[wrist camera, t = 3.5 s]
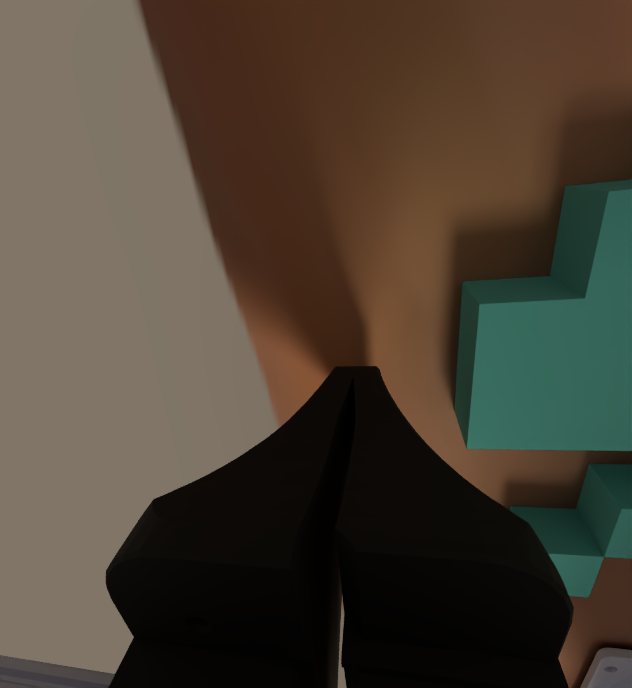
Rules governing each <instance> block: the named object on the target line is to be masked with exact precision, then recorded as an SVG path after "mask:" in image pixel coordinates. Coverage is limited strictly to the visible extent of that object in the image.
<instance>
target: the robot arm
mask: <svg viewBox="0 0 632 688" xmlns="http://www.w3.org/2000/svg"><path fill="white" fill-rule="evenodd" d="M106 586H107V589H108V592H109V594H110V597H111V599H112V601H113V603H114V604H115V606H116V608H117V609H118V611H119V613H120V614H121V616H122V618H123V619H124V621H125V623H126V624H127V626H128V628H129V629H130V631H131V633H132V635H133V636H134V638H133V640H132V642H131V644H130V646H129V648H128V650H127V652H126V654H125V656H124V658H123V660H122V662H121V664H120V666H119V668H118V670H117V672H116V673H115V674H111V673H104V672H99V671H93V670H87V669H80V668H74V667H68V666H62V665H56V664H50V663H44V662H37V661H32V660H25V659H19V658H13V657H7V656H1V655H0V688H337V686H338V662H339V641H340V621H341V620H340V619H341V601H342V596H343V605H344V614H345V615H344V629H343V644H342V659H341V661H342V662H341V664H342V667H343V668H344V671H345V679H346V686H347V688H569V687H568V684H567V681H566V679H565V676H564V673H563V670H562V668H561V665H560V662H559V660H558V657H559V655H560V652H561V649H562V647H563V644H564V642H565V639H566V636H567V634H568V631H569V629H570V626H571V623H572V617H573V609H574V608H573V605H572V603H571V600H570V597H569V595H568V592H567V589H566V587H565V585H564V582H563V580H562V578H561V576H560V574H559V572H558V570H557V568H556V566H555V564H554V563H553V561H552V559H551V558H550V556H549V554H548V553H547V551H546V549H545V547H544V546H543V544H542V543H541V541H540V539H539V538H538V536H537V535H536V533H535V531H534V530H533V528H532V527H531V525H530V524H529V523H528V522H527V521H525V520H524V519H522V518H520V517H519V516H517V515H516V514H514V513H513V512H511V511H510V510H508V509H507V508H505V507H504V506H502V505H501V504H499V503H498V502H496V501H494V500H493V499H491V498H490V497H488V496H487V495H485V494H484V493H483V492H481V491H480V490H479V489H477V488H476V487H475V486H473V485H472V484H471V483H469V482H468V481H467V480H465V479H464V478H463V477H462V476H461V475H460V474H458V473H457V472H456V471H455V470H454V469H453V468H452V467H450V466H449V465H448V464H447V463H446V462H445V461H444V460H442V459H441V458H440V457H439V456H438V455H437V454H436V453H435V452H434V451H433V450H432V449H431V448H430V447H429V446H428V445H427V443H426V442H425V441H424V440H423V439H422V438H421V437H420V436H419V435H418V433H417V432H416V431H415V430H414V429H413V427H412V426H411V425H410V423H409V422H408V421H407V419H406V418H405V417H404V415H403V414H402V412H401V411H400V409H399V408H398V407H397V405H396V403H395V402H394V400H393V398H392V397H391V395H390V393H389V391H388V390H387V388H386V385H385V383H384V381H383V379H382V376H381V373H380V369H379V368H378V367H377V366H348V367H335V368H334V369H333V370H332V371H331V373H330V374H329V375H328V377H327V378H326V379H325V381H324V382H323V383H322V384H321V386H320V387H319V388H318V389H317V390H316V392H315V393H314V394H313V395H312V396H311V397H310V398H309V400H308V401H307V402H306V403H305V404H304V405H303V406H302V407H301V408H300V409H299V410H298V411H297V412H296V413H295V414H294V415H293V416H292V417H291V418H290V419H289V420H288V421H287V422H286V423H285V424H284V425H282V426H281V427H280V428H279V429H278V430H276V431H275V432H274V433H273V434H271V435H270V436H269V437H268V438H266V439H265V440H263V441H262V442H261V443H259V444H258V445H256V446H255V447H253V448H252V449H250V450H249V451H248V452H246V453H244V454H243V455H241V456H240V457H238V458H237V459H235V460H233V461H231V462H230V463H228V464H226V465H225V466H223V467H221V468H219V469H217V470H215V471H214V472H212V473H210V474H208V475H206V476H204V477H202V478H200V479H198V480H196V481H194V482H192V483H189V484H188V485H185V486H183V487H181V488H178V489H176V490H174V491H172V492H170V493H168V494H165V495H163V496H160V497H158V498H156V499H154V500H153V501H152V502H151V504H150V505H149V506H148V508H147V509H146V511H145V512H144V513H143V515H142V516H141V518H140V519H139V520H138V522H137V524H136V525H135V527H134V528H133V530H132V531H131V533H130V534H129V536H128V537H127V539H126V540H125V542H124V544H123V545H122V546H121V548H120V549H119V551H118V553H117V554H116V555H115V557H114V559H113V560H112V562H111V563H110V565H109V567H108V569H107V570H106ZM580 688H632V650H627V649H618V648H602V649H600V650H598V652H597V653H596V655H595V658H594V660H593V662H592V664H591V666H590V668H589V670H588V672H587V674H586V677H585V679H584V681H583V683H582V685H581V687H580Z"/></svg>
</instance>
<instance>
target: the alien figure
mask: <svg viewBox="0 0 632 688" xmlns="http://www.w3.org/2000/svg"><path fill="white" fill-rule="evenodd" d="M454 411H455V414H456V417H457V420H458V423H459V426H460V429H461V432H462V436H463V439H464V442H465V445H466V448H467V449H512V450H588V451H632V179H629V180H620V181H610V182H601V183H592V184H582V185H573V186H565V190H564V196H563V202H562V208H561V214H560V219H559V225H558V231H557V237H556V243H555V249H554V254H553V260H552V266H551V272H550V276H539V277H523V278H508V279H493V280H477V281H463V283H462V298H461V314H460V329H459V345H458V360H457V376H456V391H455V407H454ZM510 511H511V512H513V513H514V514H516V515H517V516H519V517H520V518H522V519H524V520H525V521H527V522H528V523H529V524H530V525H531V527H532V528H533V530H534V531H535V533H536V535H537V536H538V538H539V539H540V541H541V543H542V544H543V546H544V547H545V549H546V551H547V553H548V554H549V556H550V558H551V559H552V561H553V563H554V564H555V566H556V568H557V570H558V572H559V574H560V576H561V578H562V580H563V582H564V585H565V587H566V589H567V592H568V595H569V596H576V597H588V598H589V596H590V594H591V591H592V588H593V586H594V583H595V580H596V577H597V575H598V572H599V569H600V567H601V564H602V561H603V558H604V557H612V558H629V559H632V464H592V463H589V466H588V469H587V473H586V476H585V480H584V483H583V487H582V490H581V494H580V497H579V501H578V504H577V508H576V509H564V508H541V507H519V506H510Z"/></svg>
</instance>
